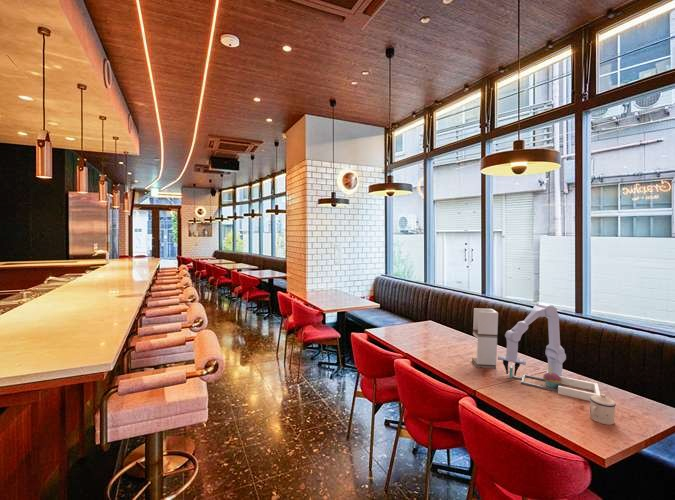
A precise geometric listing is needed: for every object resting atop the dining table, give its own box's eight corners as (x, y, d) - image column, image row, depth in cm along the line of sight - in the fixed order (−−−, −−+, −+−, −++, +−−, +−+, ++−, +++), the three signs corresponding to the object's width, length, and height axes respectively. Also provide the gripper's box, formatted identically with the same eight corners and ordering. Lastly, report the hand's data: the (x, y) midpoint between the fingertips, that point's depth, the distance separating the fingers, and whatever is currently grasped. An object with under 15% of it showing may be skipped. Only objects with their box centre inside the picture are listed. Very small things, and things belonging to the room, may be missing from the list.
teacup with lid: (597, 412, 159) (598, 388, 158) (619, 423, 150) (620, 397, 150) (580, 417, 154) (581, 392, 153) (602, 428, 146) (604, 402, 145)
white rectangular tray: (558, 382, 191) (558, 375, 191) (597, 390, 182) (597, 383, 181) (557, 394, 177) (558, 386, 177) (600, 403, 168) (600, 395, 167)
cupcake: (549, 389, 182) (550, 368, 181) (539, 383, 190) (540, 362, 190) (565, 389, 182) (566, 367, 182) (554, 382, 191) (555, 362, 190)
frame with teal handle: (511, 373, 203) (511, 363, 202) (561, 383, 189) (561, 373, 189) (508, 380, 192) (508, 370, 192) (560, 392, 178) (561, 381, 178)
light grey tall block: (490, 362, 221) (492, 308, 220) (496, 368, 211) (498, 312, 209) (472, 361, 222) (473, 308, 221) (477, 367, 212) (479, 311, 210)
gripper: (497, 350, 197) (496, 373, 198) (525, 355, 189) (524, 379, 190) (499, 347, 203) (498, 369, 203) (526, 352, 195) (525, 375, 195)
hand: (511, 374), depth 197 cm, fingers open, 3 cm apart
